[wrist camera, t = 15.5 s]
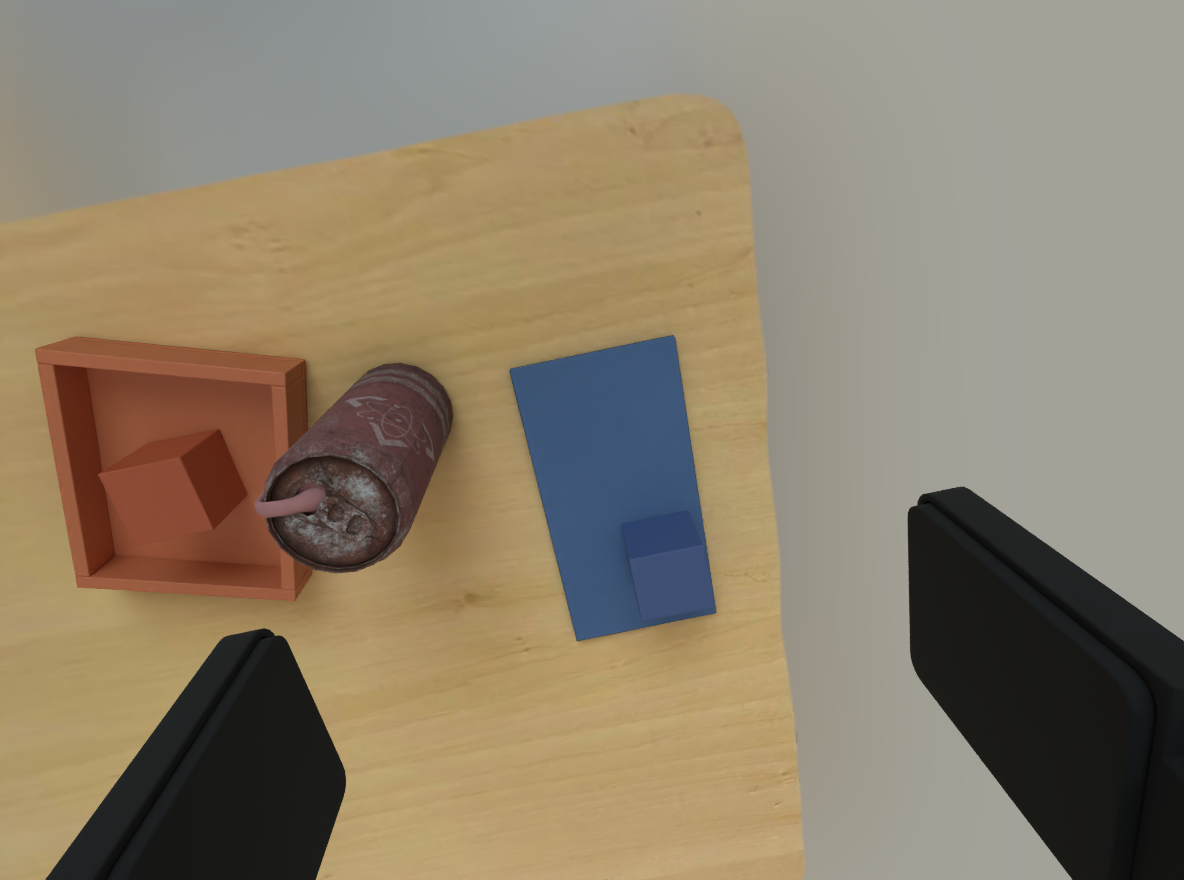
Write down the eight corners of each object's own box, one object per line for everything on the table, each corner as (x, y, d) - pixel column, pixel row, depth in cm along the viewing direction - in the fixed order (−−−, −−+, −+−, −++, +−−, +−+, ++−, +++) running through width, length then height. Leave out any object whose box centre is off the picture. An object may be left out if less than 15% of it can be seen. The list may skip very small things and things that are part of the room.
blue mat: (509, 368, 39) (509, 370, 39) (673, 334, 39) (675, 336, 38) (576, 636, 46) (577, 641, 46) (714, 609, 46) (716, 613, 46)
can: (337, 364, 38) (229, 454, 25) (446, 357, 39) (394, 442, 26) (356, 460, 40) (265, 587, 27) (459, 452, 41) (418, 575, 28)
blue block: (621, 523, 43) (628, 560, 39) (688, 510, 43) (703, 544, 38) (632, 581, 44) (641, 621, 40) (697, 567, 44) (713, 607, 40)
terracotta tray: (74, 336, 37) (33, 348, 34) (305, 359, 38) (285, 372, 35) (109, 560, 42) (77, 587, 39) (312, 573, 43) (295, 601, 40)
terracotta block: (145, 443, 39) (96, 474, 34) (219, 428, 39) (179, 457, 34) (177, 509, 40) (134, 546, 36) (248, 495, 40) (213, 530, 36)
